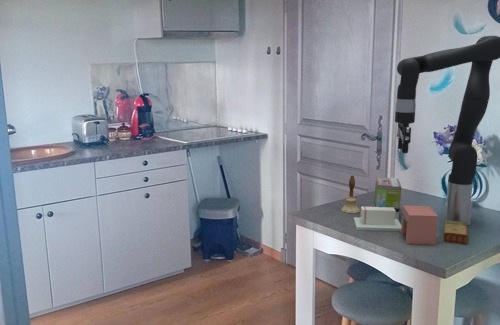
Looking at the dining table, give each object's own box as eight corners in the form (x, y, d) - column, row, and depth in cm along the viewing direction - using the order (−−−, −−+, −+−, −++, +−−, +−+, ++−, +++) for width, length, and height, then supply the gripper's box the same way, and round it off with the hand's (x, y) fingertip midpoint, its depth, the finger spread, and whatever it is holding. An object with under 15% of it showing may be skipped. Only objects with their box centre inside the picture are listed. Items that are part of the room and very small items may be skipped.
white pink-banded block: (392, 221, 206) (393, 207, 204) (394, 225, 201) (395, 210, 200) (360, 220, 207) (361, 206, 206) (361, 224, 203) (362, 209, 201)
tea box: (399, 220, 211) (401, 186, 208) (374, 218, 213) (376, 184, 210) (396, 209, 226) (398, 177, 222) (373, 208, 228) (375, 176, 224)
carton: (442, 242, 187) (443, 231, 186) (443, 229, 202) (444, 218, 201) (467, 245, 184) (468, 234, 184) (466, 231, 199) (467, 221, 198)
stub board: (397, 221, 209) (397, 218, 209) (403, 231, 198) (403, 228, 197) (353, 220, 211) (353, 217, 211) (356, 229, 199) (356, 227, 199)
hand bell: (343, 207, 229) (344, 172, 226) (361, 209, 226) (363, 174, 223) (339, 212, 222) (340, 177, 218) (358, 214, 219) (360, 178, 215)
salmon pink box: (427, 233, 196) (429, 206, 194) (435, 244, 184) (437, 216, 182) (400, 232, 197) (402, 205, 195) (406, 243, 185) (408, 215, 183)
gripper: (419, 112, 191) (416, 154, 195) (411, 108, 205) (408, 147, 209) (399, 112, 192) (396, 154, 195) (392, 108, 206) (390, 147, 209)
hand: (402, 150), depth 202 cm, fingers open, 8 cm apart
